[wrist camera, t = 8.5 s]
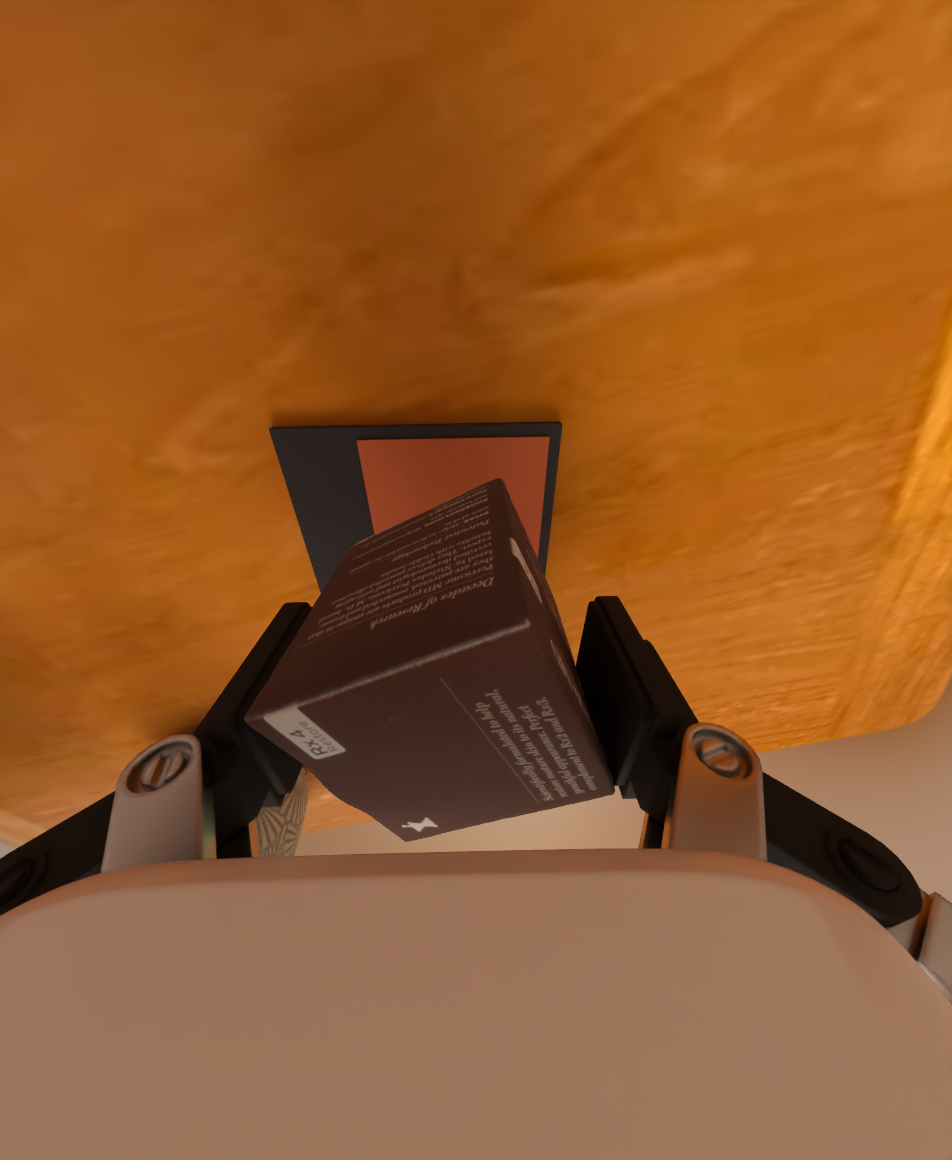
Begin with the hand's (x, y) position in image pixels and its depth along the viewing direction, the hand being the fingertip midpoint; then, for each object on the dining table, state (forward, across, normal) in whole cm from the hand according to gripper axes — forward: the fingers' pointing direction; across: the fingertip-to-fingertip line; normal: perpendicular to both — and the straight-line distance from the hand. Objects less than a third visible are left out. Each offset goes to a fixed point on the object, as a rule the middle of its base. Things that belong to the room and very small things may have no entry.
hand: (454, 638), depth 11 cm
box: (+4, 0, 0) cm, 4 cm away
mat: (+8, +2, +6) cm, 10 cm away
